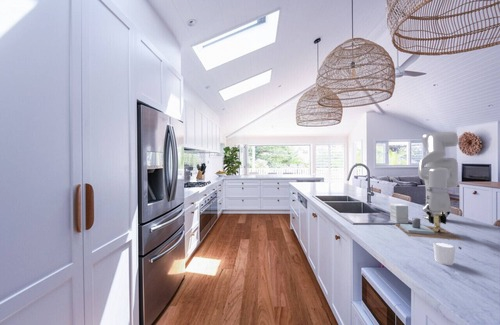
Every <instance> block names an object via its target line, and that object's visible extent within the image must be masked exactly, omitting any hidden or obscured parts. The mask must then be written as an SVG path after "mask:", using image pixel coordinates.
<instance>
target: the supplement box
mask: <svg viewBox="0 0 500 325" xmlns="http://www.w3.org/2000/svg"><path fill="white" fill-rule="evenodd" d="M389 206H390V207H389V210H390V214H389V216H390V218H389V219H390V221H391V222H393V223H394V224H409V205H407V204H403V203H390V205H389Z"/></svg>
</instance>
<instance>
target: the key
mask: <svg viewBox="0 0 500 325" xmlns="http://www.w3.org/2000/svg"><path fill="white" fill-rule="evenodd" d="M433 227H434V228H433V231H437V232H440V227H441V214H440V213H436V214H435V215H434V226H433Z"/></svg>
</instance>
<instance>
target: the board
mask: <svg viewBox="0 0 500 325" xmlns="http://www.w3.org/2000/svg"><path fill="white" fill-rule="evenodd" d="M400 224H401V223H394V226H396V227H397V228H398V229H400V230H401V231H402V232H403V233H404V234H406V235H407V236H408V237H417V238H429V239H441V240H452V241H453V240H454V241H455V240H456V241H465V239H463V238H461V237H459V236H458V235H456V234H454V233H452V232H450V231H449V230H446V229H445V228H443V227H441V226H440V232H437V231H434V232H435V235H434V234H420V233H408V232H407V231H406V230H404V229H403V228H402V227H401V226H400ZM425 226H426V227H427V228H429V229H431V230H432V231H433V228H434V227H435V226H431V225H430V226H429V225H428V226H427V225H425Z"/></svg>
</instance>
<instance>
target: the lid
mask: <svg viewBox="0 0 500 325" xmlns="http://www.w3.org/2000/svg"><path fill="white" fill-rule="evenodd" d="M411 223H412V224H410V223H399V224H400V226H401V227H402V228H403V229H404V230H406V231H407V232H408V233H420V234H434V235H435V232H434V231H432V230H431V229H429V228H427V227H426V226H427V225H424V224H421V218H418V217H412V222H411Z"/></svg>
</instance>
